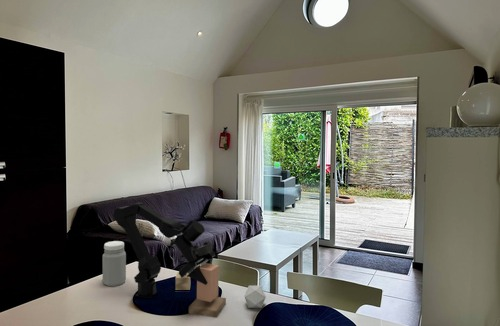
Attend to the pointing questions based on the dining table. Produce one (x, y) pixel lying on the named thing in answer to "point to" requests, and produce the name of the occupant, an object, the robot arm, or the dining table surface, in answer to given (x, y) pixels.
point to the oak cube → (182, 282)
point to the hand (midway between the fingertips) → (210, 281)
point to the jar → (114, 263)
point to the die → (255, 296)
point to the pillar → (212, 278)
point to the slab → (207, 307)
